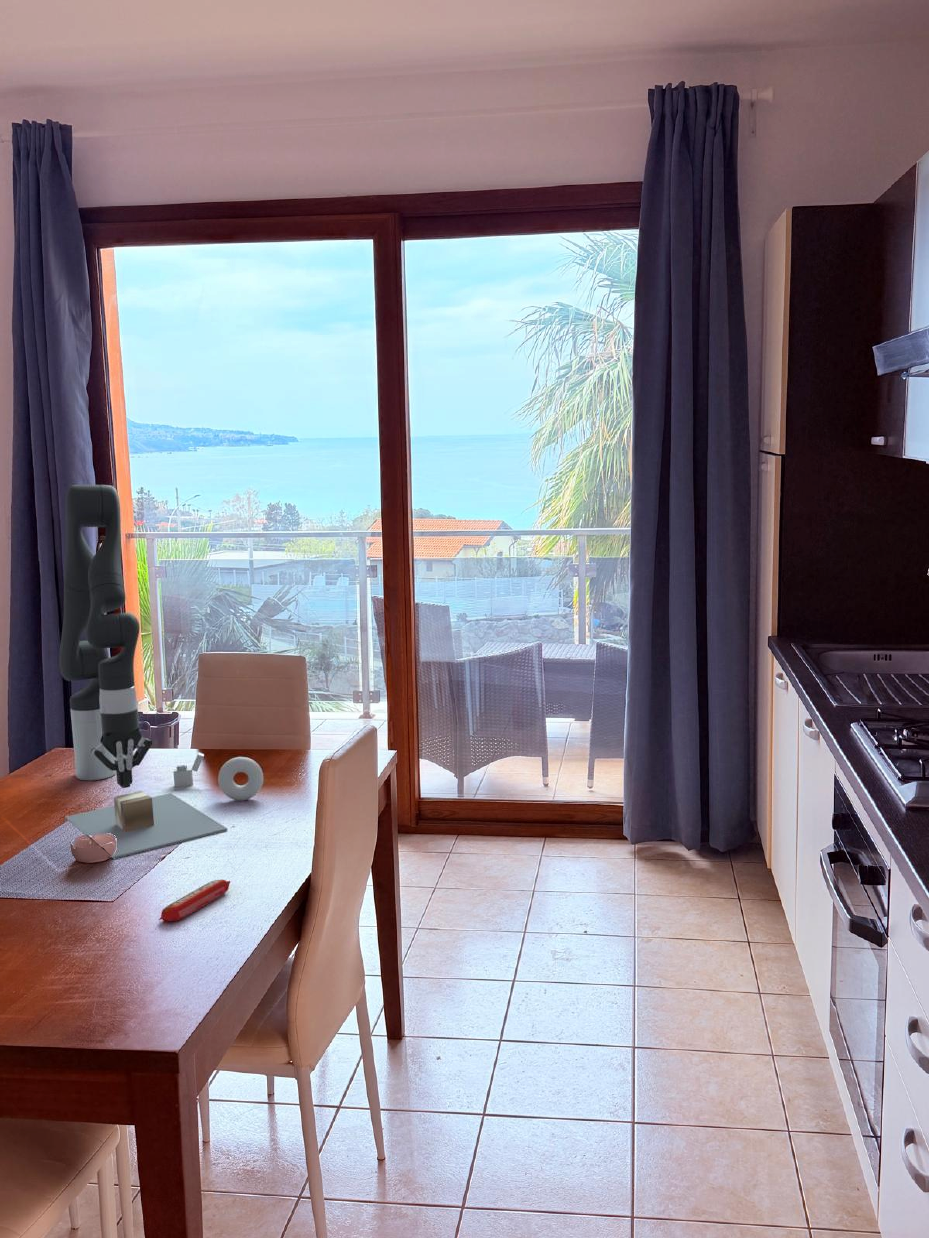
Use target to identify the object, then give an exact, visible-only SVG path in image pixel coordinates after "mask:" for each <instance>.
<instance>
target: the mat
mask: <svg viewBox="0 0 929 1238" xmlns="http://www.w3.org/2000/svg"><path fill="white" fill-rule="evenodd" d="M151 797H152V804H153V817H154V825H153V826H148V827H144V828H140V829H136V830H132V831H127V832H126V831H124V830H123V829H122V828H120V827H119V826H118V825H116V820H115V808H114V805H112V806H107V807H102V808H98V809H94V810H90V811H85V812H81V813H77V814H76V813H75V814H72V815H67V816H64V818H65V819H66V820H67V821H68V822H69V823H71V824H72V825H73V826H75V827H76V828H77V829H78V830H79V831H80V832H82V834H84V836H87V835H94V834H96V833H111V834H113V835H115V836H116V838H117V850H116V852H115V854H114V855H113V859H112V860H116V858H117V859H120V858H119V857H121V858H125V857H128V856H127V855H129V856H132V854H133V855H136V854H135V853H137V854H139V853H138V852H141V853H143V852H142V851H145V852H147V851H146V850H149V849H153V850H156V849H160V848H164V847H167V846H166V845H168V846H172V845H176V844H180V843H183V842H188V841H191V840H195V839H201V838H204V837H208V836H211V835H215V834H219V833H224V832H227V831H228V828H227V827H226V826H224V825H222V824H221V823H219V822H218V821H217V820H214V819H213V818H211V817H210V816H208V815H206V814H205V813H204V812H203V811H200V810H198V809H197V808H195V807H194V806H192V805H191V804H189V803H187V802H186V801H184V800H183V799H181V798H179V797H177V795H174V794H173V793H171V792H170V793H166V794H161V795H156V796H151ZM179 842H180V843H179ZM163 846H164V847H163ZM149 851H150V850H149ZM124 856H125V857H124ZM114 858H115V859H114Z"/></svg>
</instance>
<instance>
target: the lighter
mask: <svg viewBox="0 0 929 1238" xmlns="http://www.w3.org/2000/svg"><path fill="white" fill-rule="evenodd" d="M204 756H205V754H204V753H202V752H198V753H197V755H196V758H195V760H194V763H193V765H192V767H188V765H187V764H179V765H177V766H176V768H175V769H173V771H172V772H173V782H174V783H173V785H174V786H173V787H174V788H180V787H194V777H193V772H198V770H199V768H200V766H201V764H202V761H203V758H205V757H204Z"/></svg>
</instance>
